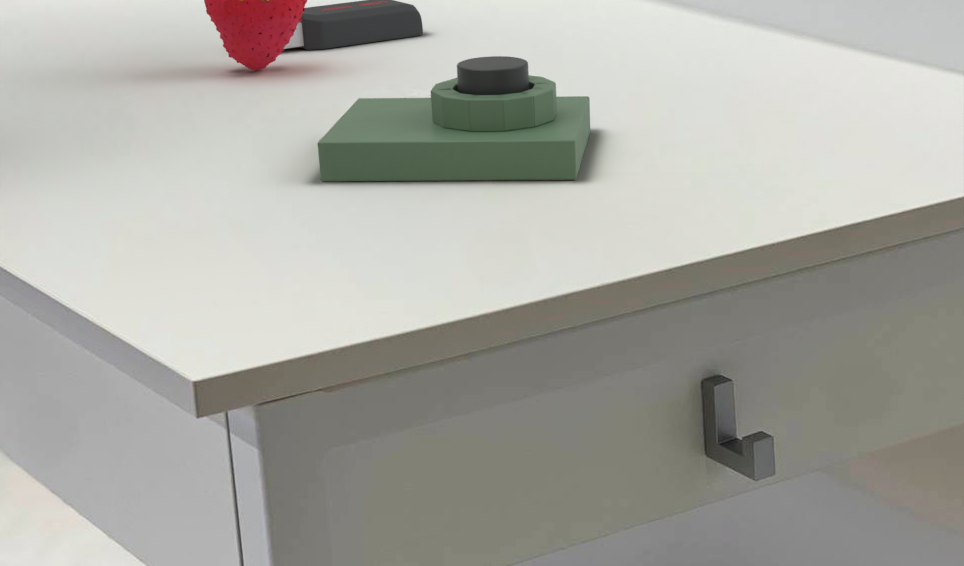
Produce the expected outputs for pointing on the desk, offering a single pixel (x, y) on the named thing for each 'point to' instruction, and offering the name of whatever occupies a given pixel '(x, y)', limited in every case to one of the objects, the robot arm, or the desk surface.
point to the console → (459, 137)
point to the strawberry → (255, 28)
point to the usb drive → (355, 24)
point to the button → (492, 75)
